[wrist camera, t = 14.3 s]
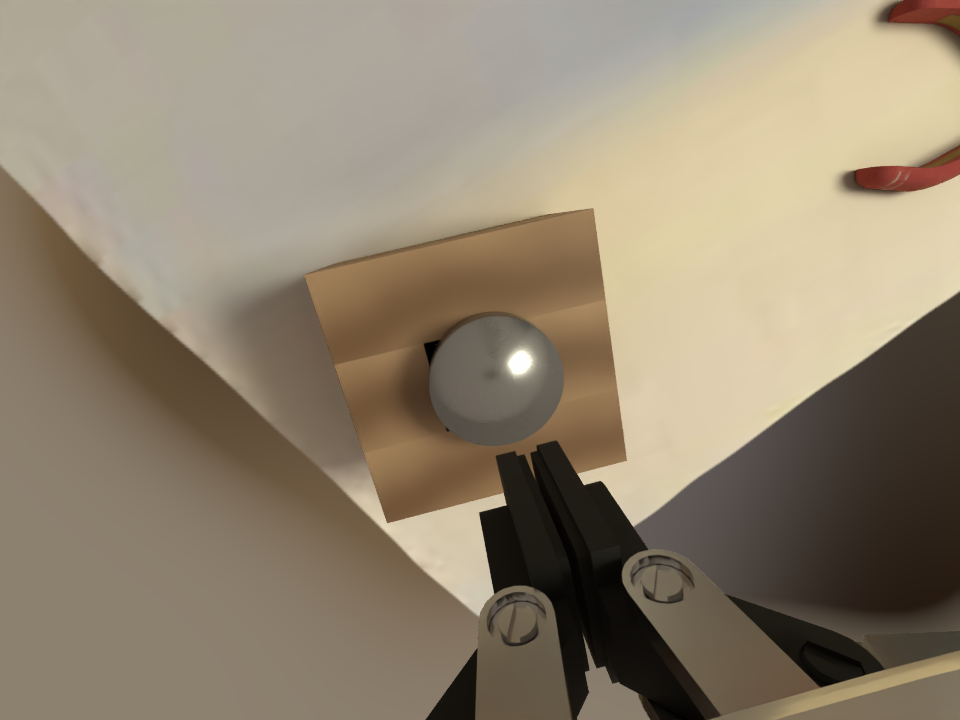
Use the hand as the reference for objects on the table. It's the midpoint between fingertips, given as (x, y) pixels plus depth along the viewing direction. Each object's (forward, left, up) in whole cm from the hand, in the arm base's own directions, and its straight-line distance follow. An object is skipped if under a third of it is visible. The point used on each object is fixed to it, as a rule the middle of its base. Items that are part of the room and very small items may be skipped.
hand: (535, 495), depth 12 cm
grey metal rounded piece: (+1, 0, -19) cm, 19 cm away
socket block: (+1, 0, -20) cm, 20 cm away
